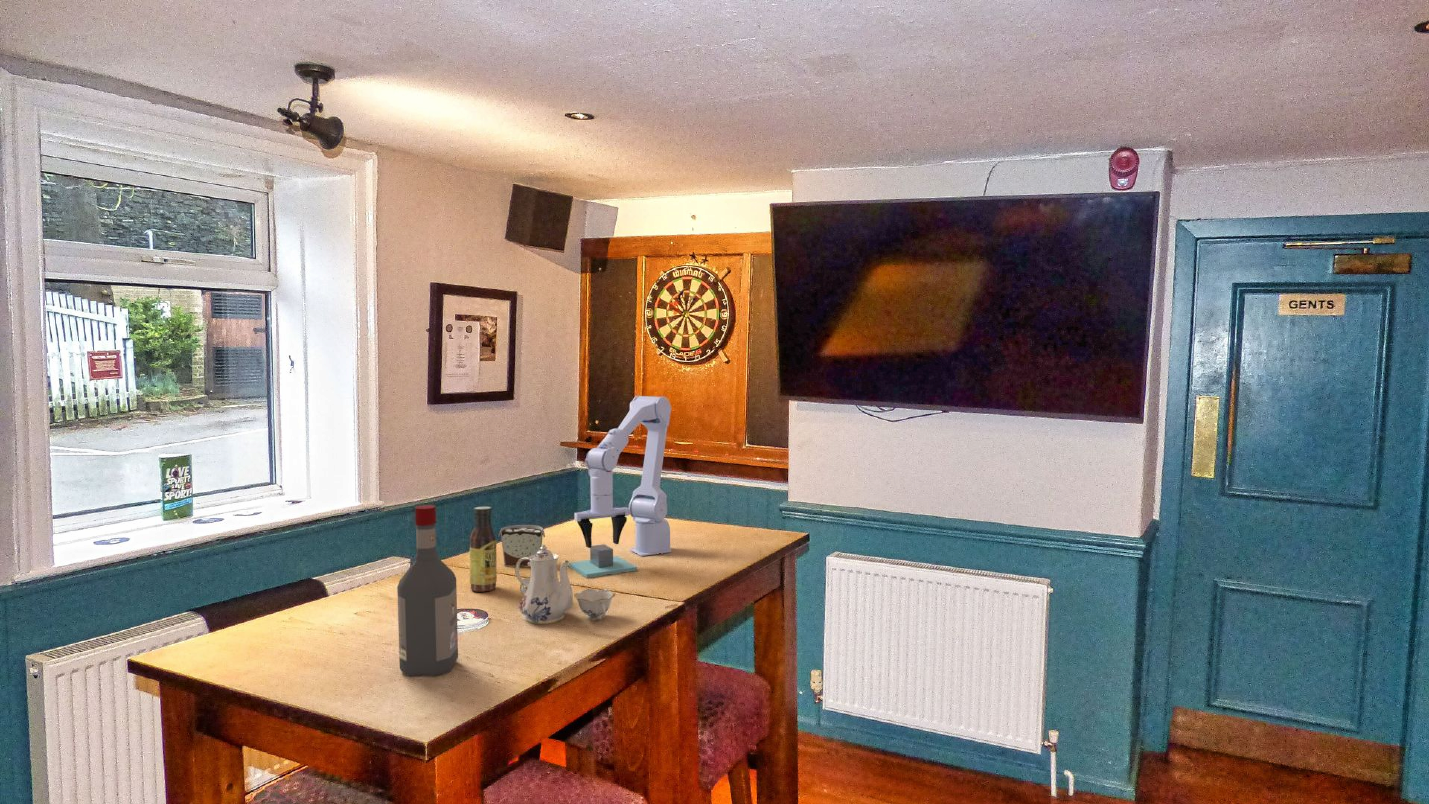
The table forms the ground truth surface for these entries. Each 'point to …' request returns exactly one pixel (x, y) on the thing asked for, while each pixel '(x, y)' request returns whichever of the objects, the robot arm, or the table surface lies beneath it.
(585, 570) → the teal board
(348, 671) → the table surface
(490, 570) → the sauce bottle
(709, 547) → the table surface
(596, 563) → the block
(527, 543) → the food container
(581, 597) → the chinaware
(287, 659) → the table surface
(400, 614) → the liquor
